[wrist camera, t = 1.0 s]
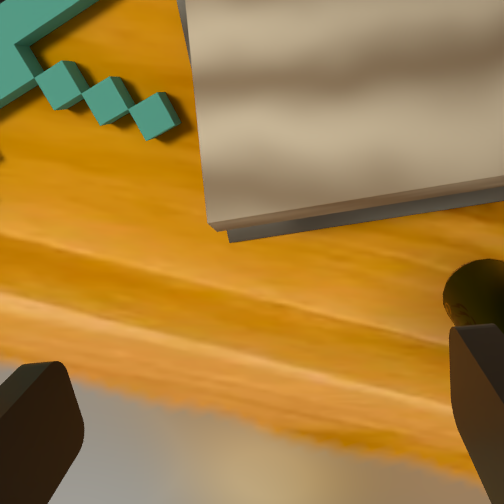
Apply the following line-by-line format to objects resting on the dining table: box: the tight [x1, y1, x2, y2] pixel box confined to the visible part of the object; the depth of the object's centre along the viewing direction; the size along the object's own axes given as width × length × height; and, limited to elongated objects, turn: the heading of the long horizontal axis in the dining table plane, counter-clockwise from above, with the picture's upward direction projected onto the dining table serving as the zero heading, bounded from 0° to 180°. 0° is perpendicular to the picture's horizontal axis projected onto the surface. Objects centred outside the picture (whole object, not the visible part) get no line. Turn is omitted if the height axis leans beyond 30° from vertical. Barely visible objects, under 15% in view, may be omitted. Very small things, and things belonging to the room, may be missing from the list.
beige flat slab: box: [185, 0, 504, 232], centre depth 25 cm, size 14×20×2 cm
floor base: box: [177, 0, 504, 243], centre depth 27 cm, size 25×22×2 cm
